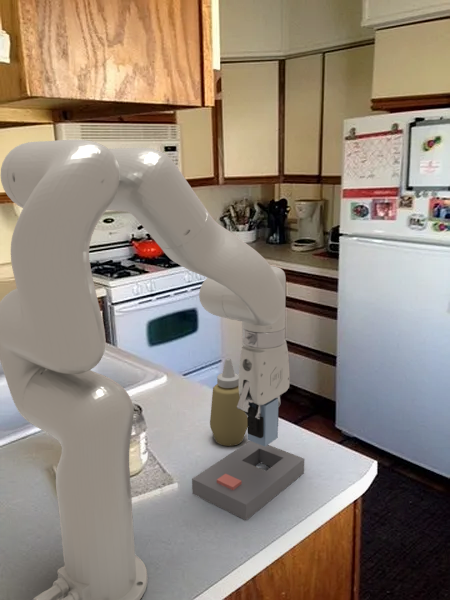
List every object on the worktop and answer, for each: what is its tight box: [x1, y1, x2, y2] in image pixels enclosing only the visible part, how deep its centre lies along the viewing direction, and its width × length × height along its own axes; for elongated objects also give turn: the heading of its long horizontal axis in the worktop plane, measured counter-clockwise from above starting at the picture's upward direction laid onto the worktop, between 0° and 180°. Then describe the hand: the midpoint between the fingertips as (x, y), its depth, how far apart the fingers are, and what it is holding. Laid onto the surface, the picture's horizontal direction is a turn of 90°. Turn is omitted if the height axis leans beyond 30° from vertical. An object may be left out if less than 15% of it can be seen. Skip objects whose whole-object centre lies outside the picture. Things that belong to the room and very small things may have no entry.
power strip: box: [191, 440, 305, 521], centre depth 101 cm, size 18×12×4 cm, turn 141°
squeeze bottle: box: [209, 358, 248, 447], centre depth 115 cm, size 8×8×18 cm
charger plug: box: [247, 398, 279, 447], centre depth 102 cm, size 4×4×8 cm
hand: (263, 429), depth 102 cm, fingers closed on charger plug, 4 cm apart
